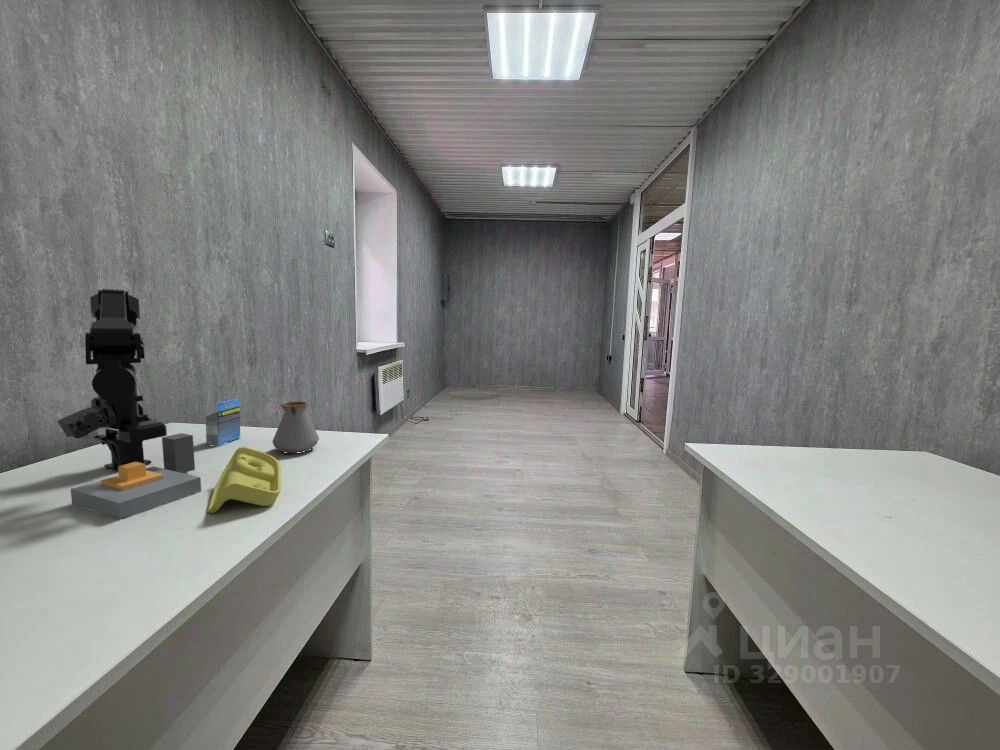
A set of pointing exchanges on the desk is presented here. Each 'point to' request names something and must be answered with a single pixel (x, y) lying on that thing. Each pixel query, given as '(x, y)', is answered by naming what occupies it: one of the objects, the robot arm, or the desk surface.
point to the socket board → (136, 494)
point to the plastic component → (248, 479)
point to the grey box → (178, 453)
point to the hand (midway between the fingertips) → (124, 469)
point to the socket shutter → (131, 476)
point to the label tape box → (223, 423)
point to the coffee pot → (295, 429)
